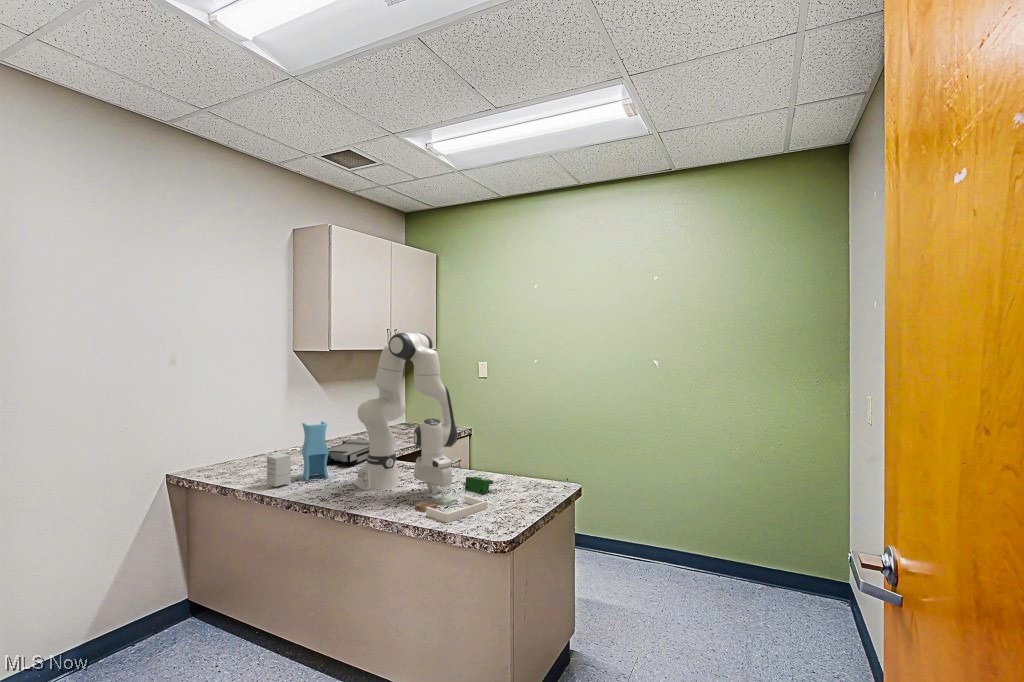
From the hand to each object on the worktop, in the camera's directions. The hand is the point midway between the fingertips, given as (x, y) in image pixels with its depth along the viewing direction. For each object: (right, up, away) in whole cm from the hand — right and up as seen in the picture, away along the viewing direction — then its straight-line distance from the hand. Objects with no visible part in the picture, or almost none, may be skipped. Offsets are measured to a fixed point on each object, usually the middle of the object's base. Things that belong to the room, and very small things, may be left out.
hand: (432, 493), depth 207 cm
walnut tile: (0, -2, -13) cm, 14 cm away
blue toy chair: (-61, -2, +33) cm, 69 cm away
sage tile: (+6, -2, -6) cm, 9 cm away
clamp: (+17, -3, +9) cm, 19 cm away
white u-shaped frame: (+12, -2, -18) cm, 22 cm away
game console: (-55, -3, +67) cm, 87 cm away
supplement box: (-72, -2, +21) cm, 75 cm away
